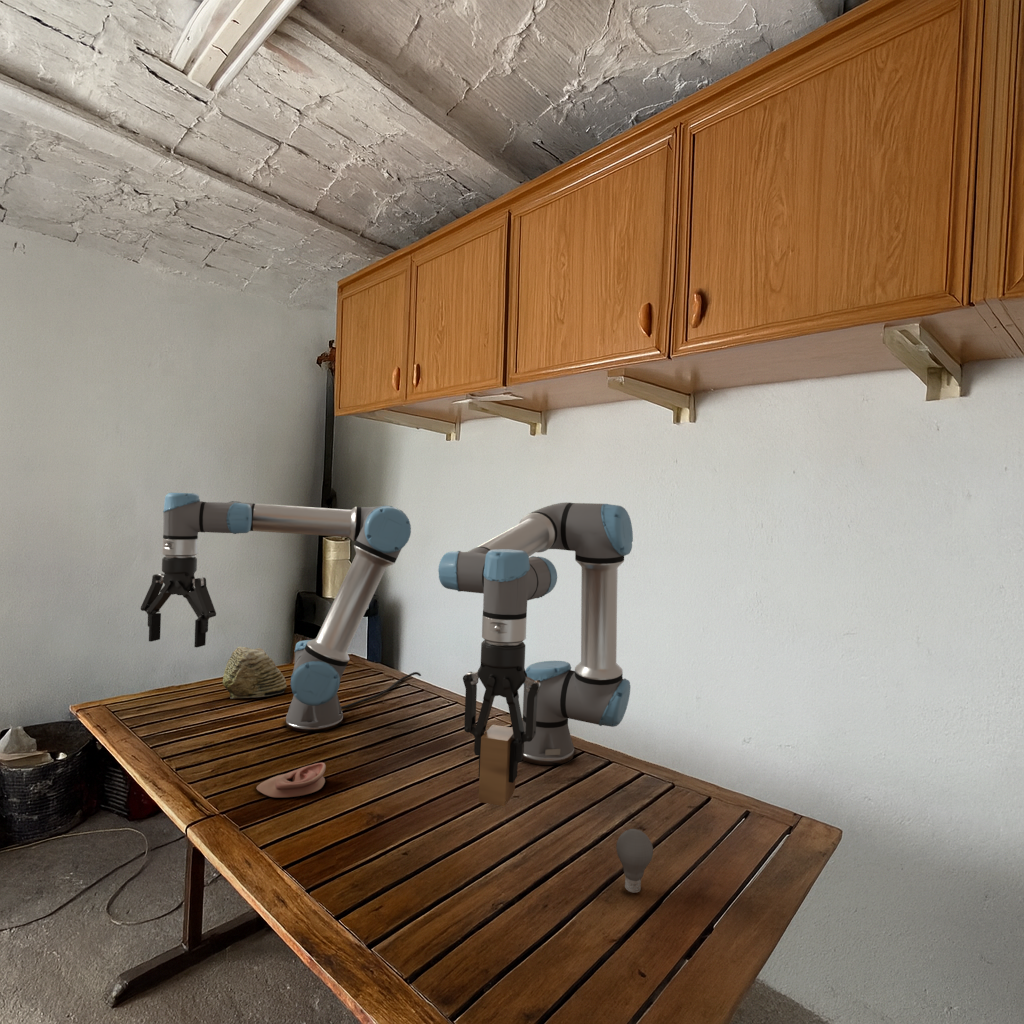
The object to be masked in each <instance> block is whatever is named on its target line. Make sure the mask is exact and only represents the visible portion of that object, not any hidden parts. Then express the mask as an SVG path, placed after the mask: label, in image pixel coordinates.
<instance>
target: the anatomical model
mask: <svg viewBox="0 0 1024 1024" xmlns="http://www.w3.org/2000/svg"><path fill="white" fill-rule="evenodd" d="M326 768H327V765H326V763H325V762H316V763H313V764H309V765H306V766H302V767H300V768H297V769H294V770H292V771H289V772H286V773H282V774H278V775H275V776H273V777H270V778H267V779H265V780H264V781H262V782H261V783H259V784H258V785H256V790H257V792H259V793H261V794H263V795H264V796H267V797H270V798H275V799H278V798H293V797H294V798H295V797H300V796H301V797H302V796H306V795H309V794H312V793H315V792H318V791H320V790H321V789H322V788H323V787H324V785H325V783H326V778H325V777H324V775H325V772H326V770H327V769H326Z"/></svg>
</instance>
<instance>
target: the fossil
mask: <svg viewBox="0 0 1024 1024" xmlns="http://www.w3.org/2000/svg"><path fill="white" fill-rule="evenodd" d="M222 676H223V677H222V685H223V687H224V688H225V690H226V691H228V693H229V698H230V699H250V698H264V697H271V696H275V695H281V694H284V693H285V691H286V689H287V687H288V686H287V680H286V678H285V676H284V674H283V673H282V672H281V669H279V668H278V667H277V665H276V663H275V662H274V660H273V659H272V658H271V657H270V656H269V655H268V654H267V653H266V652H265V650H264V649H263V648H260V647H258V648H251V647H247V646H246V647H245V646H238V647H237V648H236V649H235V650H233V651H232V653H231V656H230V657H229V659H228V660H227V663H226V666H225V668H224V671H223V675H222Z"/></svg>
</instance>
